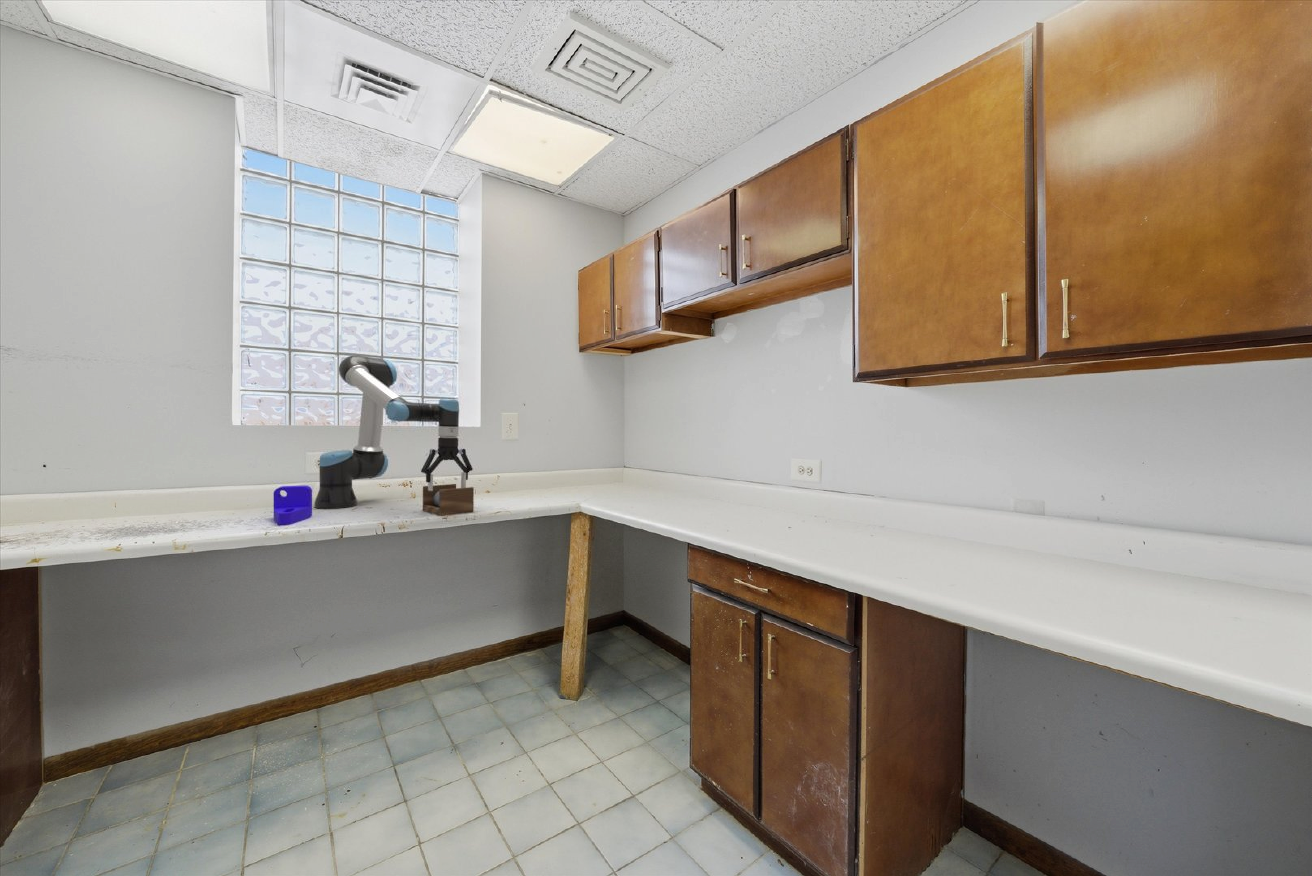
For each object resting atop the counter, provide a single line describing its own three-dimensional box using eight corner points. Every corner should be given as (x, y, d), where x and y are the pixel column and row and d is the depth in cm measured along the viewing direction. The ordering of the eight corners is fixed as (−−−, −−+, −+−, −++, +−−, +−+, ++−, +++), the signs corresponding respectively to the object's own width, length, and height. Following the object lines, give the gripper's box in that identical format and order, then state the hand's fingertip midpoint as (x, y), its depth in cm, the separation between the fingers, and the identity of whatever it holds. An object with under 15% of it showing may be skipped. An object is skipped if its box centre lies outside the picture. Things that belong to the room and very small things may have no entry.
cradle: (422, 510, 201) (422, 486, 201) (454, 507, 211) (454, 483, 211) (440, 516, 190) (440, 490, 190) (473, 511, 200) (473, 487, 200)
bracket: (276, 518, 182) (276, 486, 182) (312, 516, 187) (312, 485, 187) (263, 527, 166) (263, 492, 166) (303, 524, 171) (303, 490, 171)
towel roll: (432, 507, 202) (433, 490, 202) (449, 506, 207) (450, 489, 207) (446, 511, 194) (446, 493, 193) (463, 510, 199) (463, 492, 199)
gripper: (420, 437, 188) (419, 492, 189) (481, 437, 206) (480, 488, 207) (412, 436, 193) (411, 490, 194) (473, 436, 211) (471, 486, 212)
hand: (447, 489), depth 200 cm, fingers open, 13 cm apart
